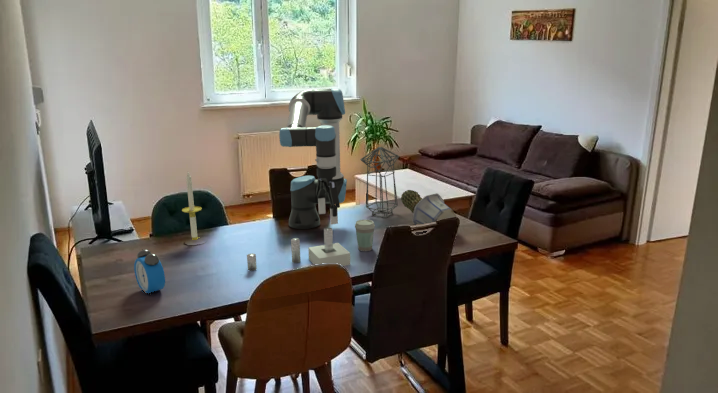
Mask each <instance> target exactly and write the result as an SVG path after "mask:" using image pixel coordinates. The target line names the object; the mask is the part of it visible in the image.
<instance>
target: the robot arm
mask: <svg viewBox="0 0 718 393" xmlns="http://www.w3.org/2000/svg"><path fill="white" fill-rule="evenodd" d="M288 112H289V115H288V119H287V124H286V127H281V128H280V129H279V133H278V134H279V135H278V137H279V144H280V146H281V147H285V148H287V147H288V148H292V147H293V148H295V147H299V148H300V147H315V152H316V153H315V154H316V155H315V156H316V158H315V159H314V160H315V162H316V176H317V179H316V177H315V176H314V175H302V176H299V177H295V178H293V179H292V180H291V181H290V190H289V191H290V198H291V199H290V200H291V202H290V203H291V212H290V215H289V219H288V226H289V227H290V228H291V229H297V230H309V229H314V228H316V227H319V226H320V225H321V219H320V215H325V214H326V212H327V211H326V204H330V206H329V212H330V214H329V215H330V216H329V217H330V218H329V219H330V225H338V224H339V218H338V217H339V216H338V214H339V213H338V208H339V209H340V208H341V203H344V202H345V200H346V193H347V182H348V178H345V175H344V173H342V172H341V149H340V148H341V145H340V144H341V142H340V141H341V140H340V121H342V119H343V115H345V114H346V107H345V100H344V95H343V90H342V89H340V88H332V87H331V88H308V89H304V90H302V91H299V92H297V93H296V94H295V95H294V96H292V98H291V100H290V102H289V104H288ZM308 116H316V119H317V120H318V121H319V122H320V125H319V126H318V125H317V126H315V127H314V126H312V127H311V126H310V127H309V126H308V127H307V126H306V125H307V118H308ZM317 204H318V211H317V207H316V206H317Z"/></svg>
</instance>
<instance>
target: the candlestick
mask: <svg viewBox="0 0 718 393" xmlns="http://www.w3.org/2000/svg"><path fill="white" fill-rule="evenodd" d="M185 179H186V180H185V181H186V189H187V198H188V206H186V207H184V208H183V207H182V209H181V212H183V213H185V214H186V213H187V214H188V215H189V223H190V235H191V238H192V240H197V239H198V238H199V237H198V229H197V216H196V213H197V212H200V211H202V209H203V208H202V207H201V206H197V205H195V204H194V202H195V201H194V194H193V192H194V190H193V182H192V176H191V175H190V172H189V171H187V174H186V177H185Z"/></svg>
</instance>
